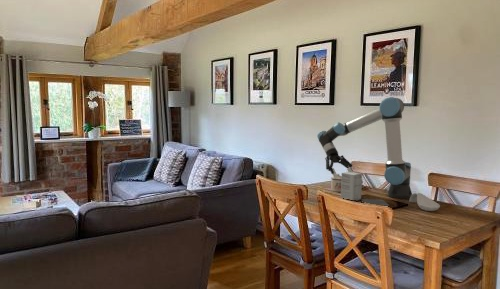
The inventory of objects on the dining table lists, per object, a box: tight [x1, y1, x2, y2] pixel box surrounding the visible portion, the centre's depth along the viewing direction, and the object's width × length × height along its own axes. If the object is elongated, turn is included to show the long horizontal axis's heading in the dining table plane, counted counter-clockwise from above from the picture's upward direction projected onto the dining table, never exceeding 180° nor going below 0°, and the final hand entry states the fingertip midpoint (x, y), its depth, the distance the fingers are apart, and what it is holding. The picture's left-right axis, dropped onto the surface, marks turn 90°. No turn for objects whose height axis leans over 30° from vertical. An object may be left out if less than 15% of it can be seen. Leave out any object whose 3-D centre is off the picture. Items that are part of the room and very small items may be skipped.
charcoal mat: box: [360, 198, 390, 207], centre depth 230 cm, size 13×13×1 cm
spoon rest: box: [408, 192, 441, 212], centre depth 224 cm, size 24×12×7 cm, turn 6°
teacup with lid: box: [330, 173, 342, 193], centre depth 265 cm, size 12×9×12 cm
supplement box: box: [340, 171, 363, 201], centre depth 240 cm, size 10×9×17 cm
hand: (344, 176), depth 245 cm, fingers open, 13 cm apart
